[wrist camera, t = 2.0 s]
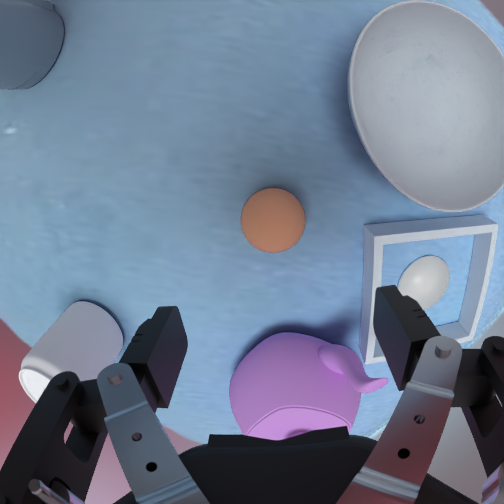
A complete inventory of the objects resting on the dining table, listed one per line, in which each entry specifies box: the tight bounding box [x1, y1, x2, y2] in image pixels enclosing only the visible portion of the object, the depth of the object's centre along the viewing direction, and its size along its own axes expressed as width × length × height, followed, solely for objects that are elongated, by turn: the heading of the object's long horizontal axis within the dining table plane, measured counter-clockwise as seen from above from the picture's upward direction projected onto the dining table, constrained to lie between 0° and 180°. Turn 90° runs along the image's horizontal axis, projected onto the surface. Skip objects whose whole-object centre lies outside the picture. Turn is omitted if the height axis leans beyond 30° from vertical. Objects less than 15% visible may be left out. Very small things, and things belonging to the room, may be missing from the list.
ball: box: [241, 188, 305, 253], centre depth 24 cm, size 5×5×5 cm
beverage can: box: [19, 301, 123, 422], centre depth 27 cm, size 8×8×12 cm
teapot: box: [229, 332, 388, 440], centre depth 28 cm, size 13×20×11 cm
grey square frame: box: [359, 215, 498, 365], centre depth 27 cm, size 14×14×3 cm
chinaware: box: [347, 0, 504, 212], centre depth 18 cm, size 15×15×8 cm
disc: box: [397, 255, 450, 310], centre depth 28 cm, size 6×6×1 cm
